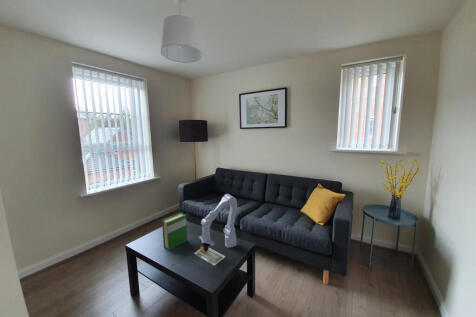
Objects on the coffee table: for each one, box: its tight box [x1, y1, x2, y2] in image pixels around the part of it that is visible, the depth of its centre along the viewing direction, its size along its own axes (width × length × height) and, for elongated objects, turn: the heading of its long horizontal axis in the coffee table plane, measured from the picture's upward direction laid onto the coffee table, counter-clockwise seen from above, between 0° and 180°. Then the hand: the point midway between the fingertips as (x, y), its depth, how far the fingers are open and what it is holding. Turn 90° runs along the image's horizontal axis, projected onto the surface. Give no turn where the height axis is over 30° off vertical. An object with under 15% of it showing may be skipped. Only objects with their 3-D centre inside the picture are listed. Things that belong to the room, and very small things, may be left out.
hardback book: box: [161, 212, 188, 252], centre depth 159 cm, size 18×7×24 cm, turn 141°
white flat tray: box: [193, 247, 226, 267], centre depth 145 cm, size 12×22×2 cm, turn 53°
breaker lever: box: [200, 245, 207, 254], centre depth 148 cm, size 4×3×5 cm
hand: (206, 250), depth 146 cm, fingers closed
